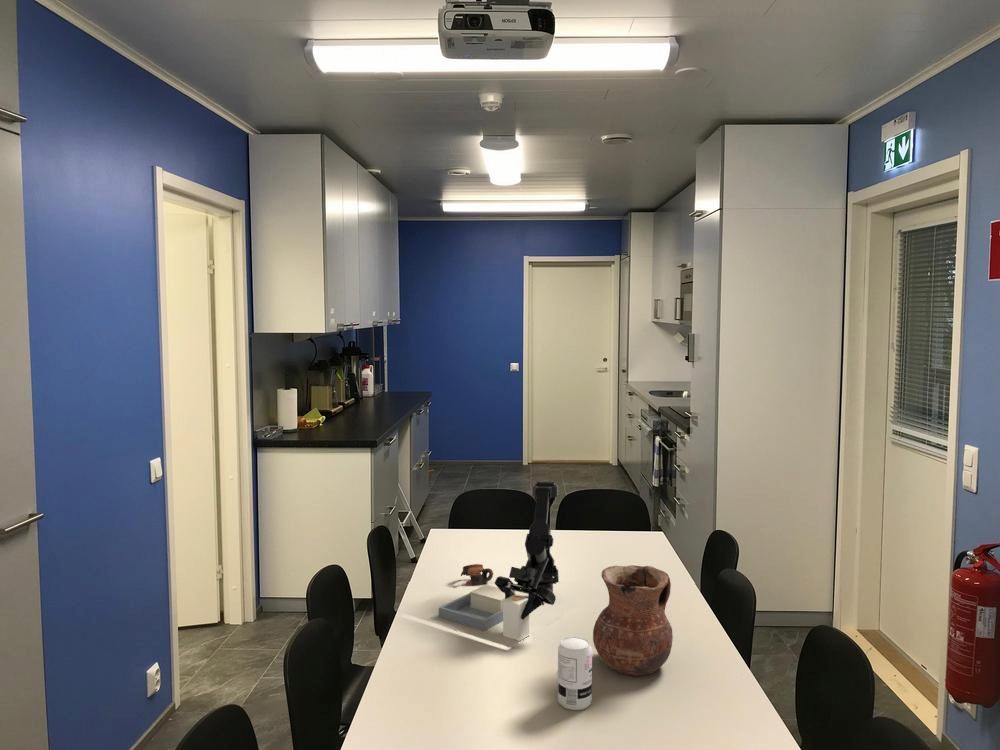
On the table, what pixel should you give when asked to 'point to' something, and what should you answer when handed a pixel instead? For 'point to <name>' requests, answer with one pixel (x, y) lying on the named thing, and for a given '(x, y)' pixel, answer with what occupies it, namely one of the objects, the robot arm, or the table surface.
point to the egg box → (487, 599)
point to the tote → (469, 614)
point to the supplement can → (574, 673)
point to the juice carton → (515, 618)
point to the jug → (634, 620)
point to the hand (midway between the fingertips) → (513, 616)
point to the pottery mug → (477, 574)
